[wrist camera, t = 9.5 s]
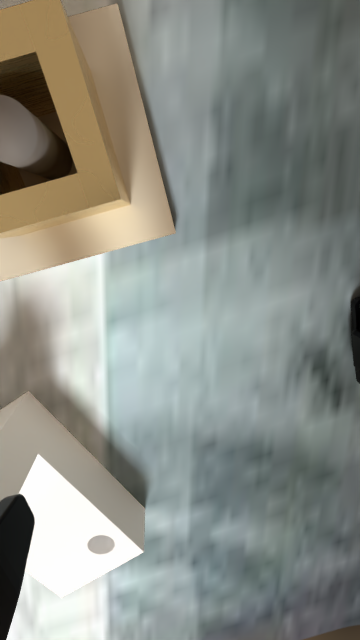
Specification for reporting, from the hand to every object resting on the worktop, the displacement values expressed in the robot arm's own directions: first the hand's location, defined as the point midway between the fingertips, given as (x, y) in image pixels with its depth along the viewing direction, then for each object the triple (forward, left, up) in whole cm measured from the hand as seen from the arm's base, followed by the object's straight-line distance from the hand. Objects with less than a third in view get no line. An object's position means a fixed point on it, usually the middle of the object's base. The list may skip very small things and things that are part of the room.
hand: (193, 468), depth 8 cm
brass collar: (+3, -10, -11) cm, 15 cm away
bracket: (+11, +9, -12) cm, 19 cm away
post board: (+3, -10, -12) cm, 16 cm away
